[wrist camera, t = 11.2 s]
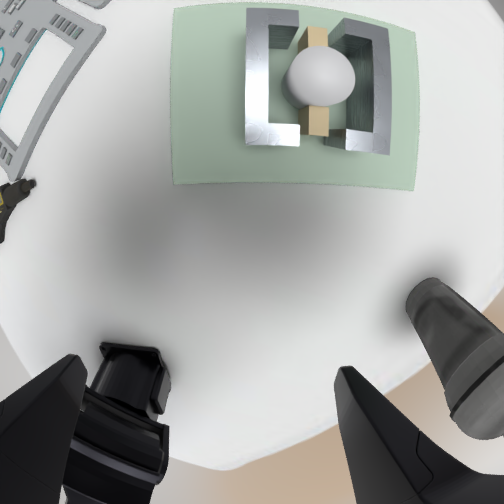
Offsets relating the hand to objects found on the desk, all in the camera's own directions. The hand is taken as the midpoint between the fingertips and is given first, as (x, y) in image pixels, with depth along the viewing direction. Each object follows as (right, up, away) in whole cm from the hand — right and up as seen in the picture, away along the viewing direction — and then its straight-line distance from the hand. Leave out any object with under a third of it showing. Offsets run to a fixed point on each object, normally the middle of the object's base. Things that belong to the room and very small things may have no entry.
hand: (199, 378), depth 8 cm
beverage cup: (+18, 0, +14) cm, 23 cm away
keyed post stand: (+5, +14, +7) cm, 16 cm away
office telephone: (-18, +23, +3) cm, 30 cm away
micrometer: (-22, +8, +10) cm, 25 cm away
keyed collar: (+5, +14, +6) cm, 15 cm away
